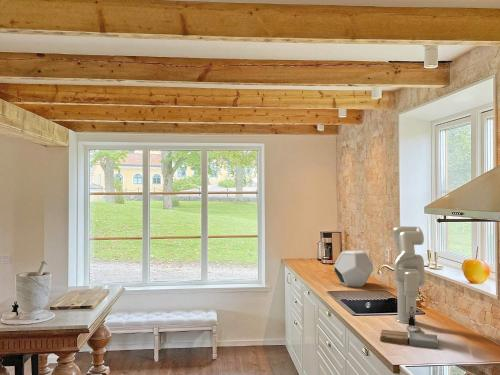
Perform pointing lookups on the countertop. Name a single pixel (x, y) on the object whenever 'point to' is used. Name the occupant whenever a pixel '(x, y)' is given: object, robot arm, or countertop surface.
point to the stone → (414, 329)
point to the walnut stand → (394, 337)
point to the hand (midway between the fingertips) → (411, 323)
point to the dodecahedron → (353, 268)
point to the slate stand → (423, 340)
